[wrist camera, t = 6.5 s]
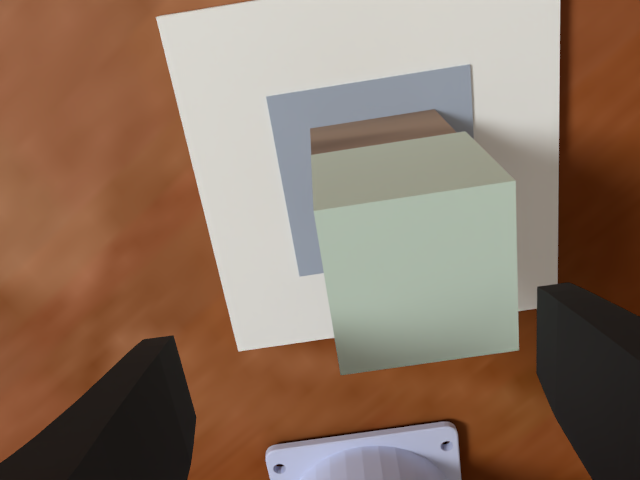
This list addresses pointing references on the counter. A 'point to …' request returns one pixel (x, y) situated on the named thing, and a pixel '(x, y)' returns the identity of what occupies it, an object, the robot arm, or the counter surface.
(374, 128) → the walnut block
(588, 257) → the counter surface
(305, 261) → the white square board
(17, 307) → the counter surface
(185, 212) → the counter surface
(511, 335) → the green block
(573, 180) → the counter surface
